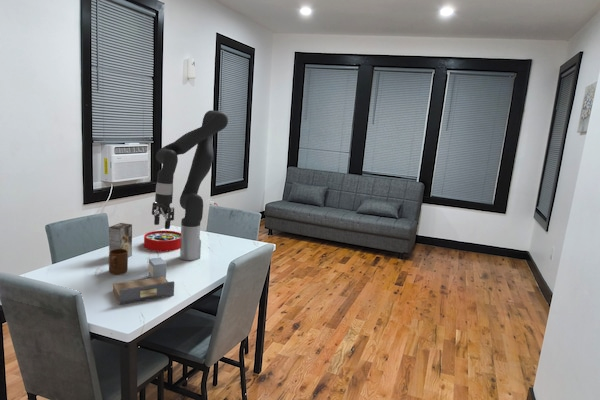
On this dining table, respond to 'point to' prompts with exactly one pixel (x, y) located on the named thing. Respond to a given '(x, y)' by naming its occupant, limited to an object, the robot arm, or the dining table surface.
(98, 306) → the dining table surface
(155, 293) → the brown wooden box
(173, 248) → the toy clock
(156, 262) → the carton
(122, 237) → the coffee box
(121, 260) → the mug
